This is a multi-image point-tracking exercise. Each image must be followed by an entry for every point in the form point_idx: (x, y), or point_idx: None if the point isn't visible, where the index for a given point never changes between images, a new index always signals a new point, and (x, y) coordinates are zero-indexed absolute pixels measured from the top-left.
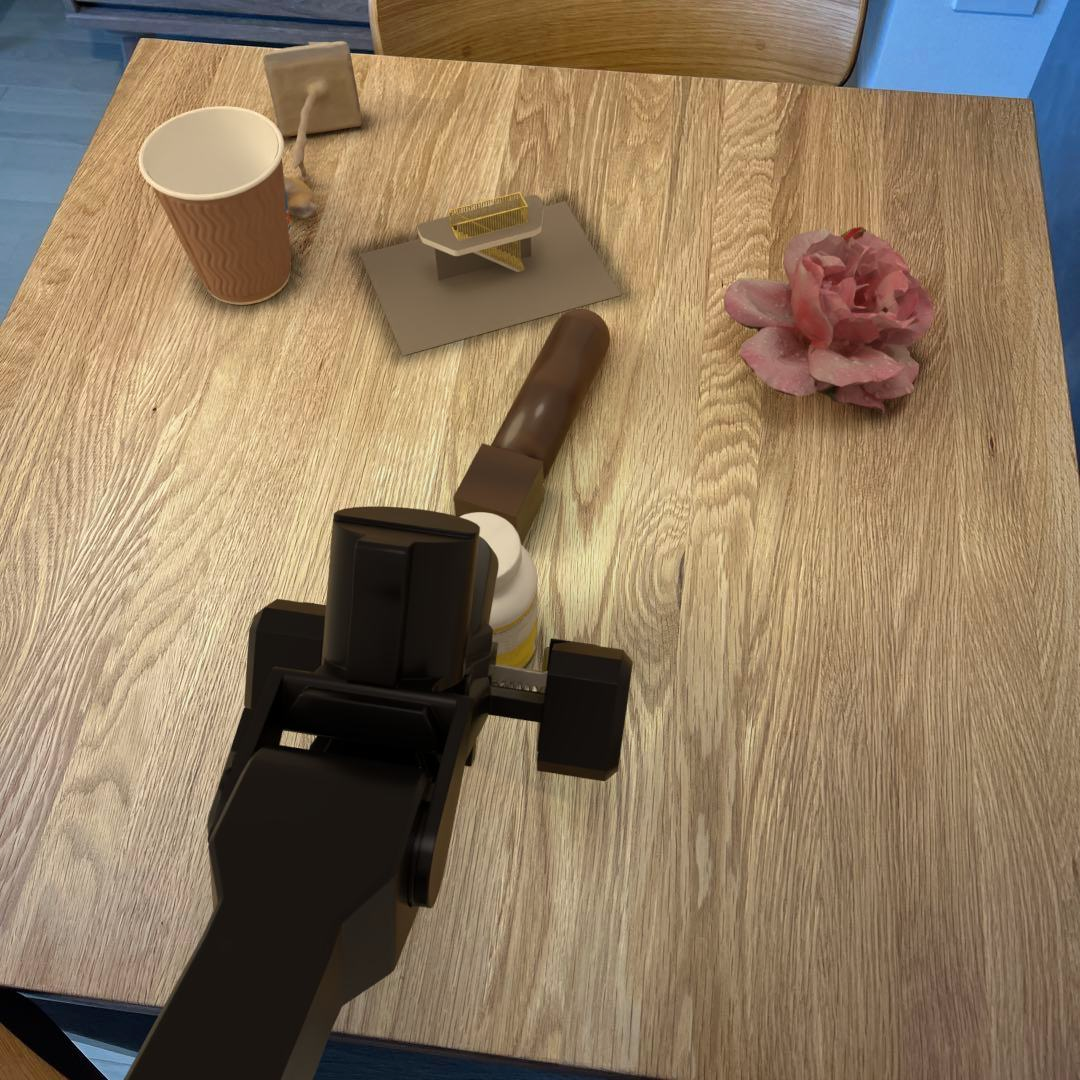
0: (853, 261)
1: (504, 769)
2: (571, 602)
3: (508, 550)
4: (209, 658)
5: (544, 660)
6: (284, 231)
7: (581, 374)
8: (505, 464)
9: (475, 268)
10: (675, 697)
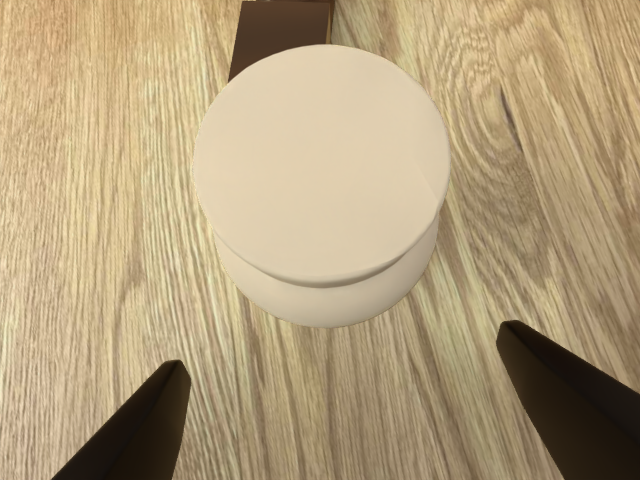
0: None
1: (401, 414)
2: None
3: (413, 140)
4: (10, 368)
5: (635, 460)
6: None
7: None
8: (282, 20)
9: None
10: (562, 260)
